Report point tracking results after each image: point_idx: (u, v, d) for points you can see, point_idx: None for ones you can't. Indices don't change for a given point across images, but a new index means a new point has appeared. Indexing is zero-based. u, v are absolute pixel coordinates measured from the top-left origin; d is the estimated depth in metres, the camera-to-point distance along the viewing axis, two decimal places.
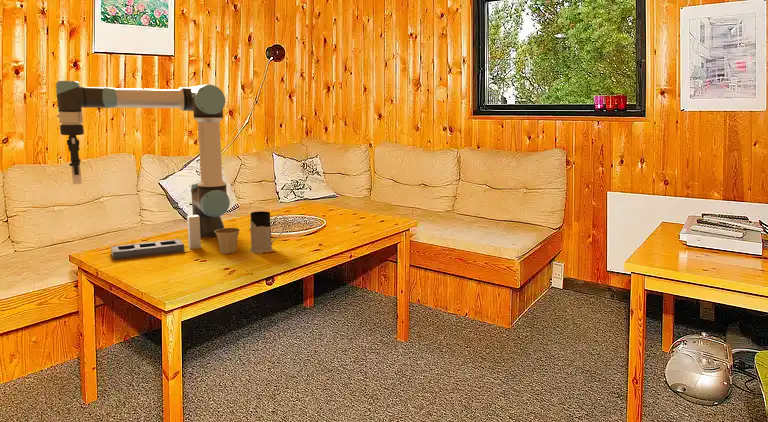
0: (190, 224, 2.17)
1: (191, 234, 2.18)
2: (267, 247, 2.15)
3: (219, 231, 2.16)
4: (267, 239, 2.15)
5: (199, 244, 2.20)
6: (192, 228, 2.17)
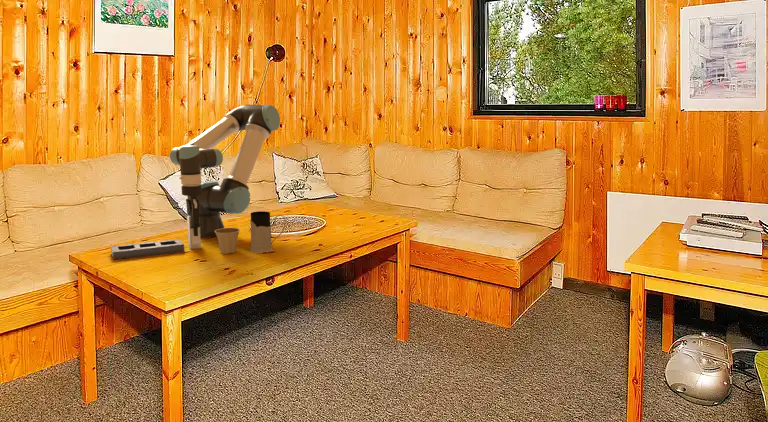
0: (190, 224, 2.17)
1: (191, 234, 2.18)
2: (267, 247, 2.15)
3: (219, 231, 2.16)
4: (267, 239, 2.15)
5: (199, 244, 2.20)
6: None
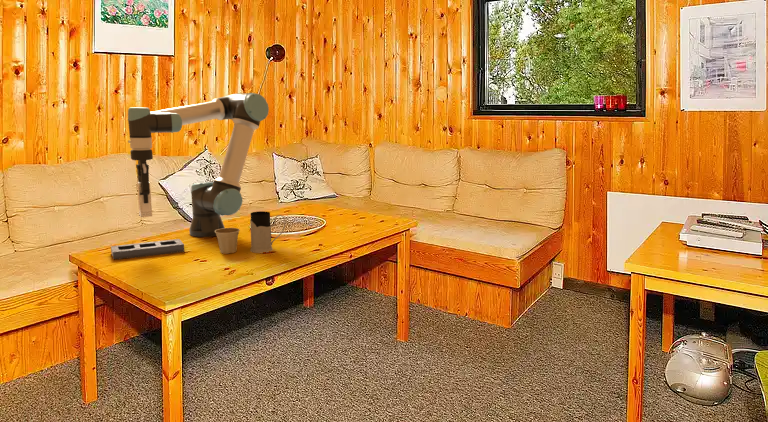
0: (140, 190, 2.05)
1: (141, 201, 2.06)
2: (267, 247, 2.15)
3: (219, 231, 2.16)
4: (267, 239, 2.15)
5: (150, 212, 2.08)
6: None
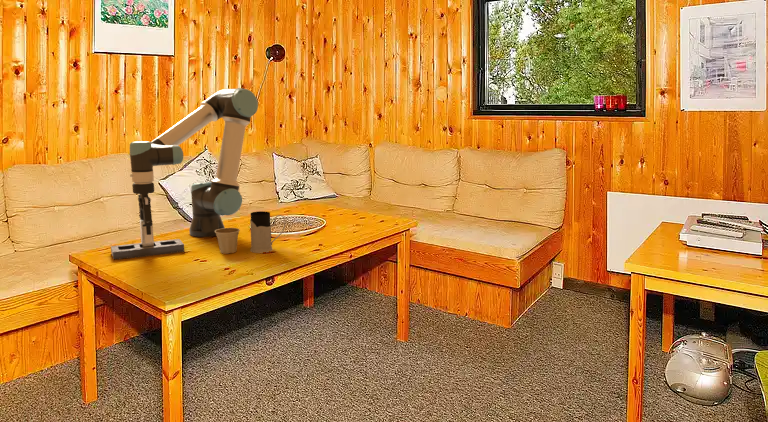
0: (142, 229, 2.08)
1: (143, 239, 2.09)
2: (267, 247, 2.15)
3: (219, 231, 2.16)
4: (267, 239, 2.15)
5: None
6: None
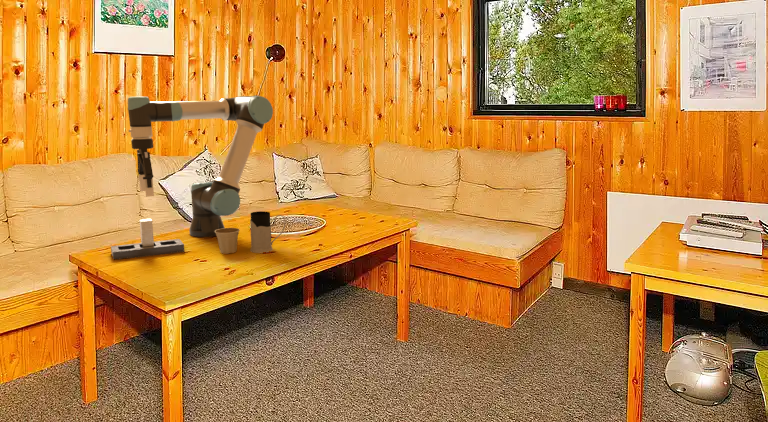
0: (142, 228, 2.08)
1: (143, 239, 2.09)
2: (267, 247, 2.15)
3: (219, 231, 2.16)
4: (267, 239, 2.15)
5: None
6: (145, 233, 2.09)
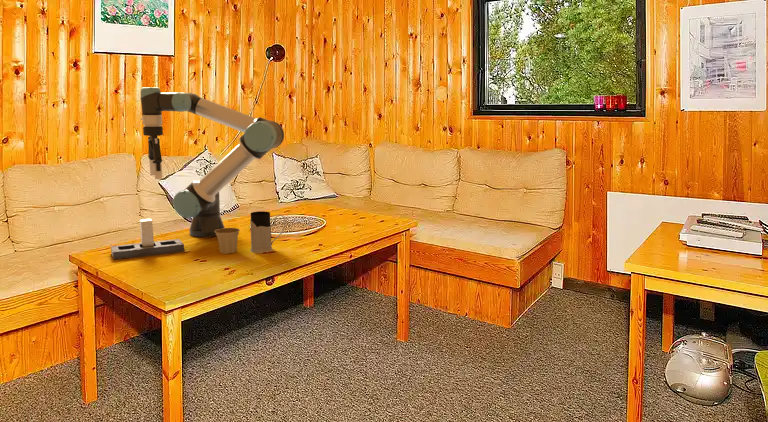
0: (142, 229, 2.08)
1: (143, 239, 2.09)
2: (267, 247, 2.15)
3: (219, 231, 2.16)
4: (267, 239, 2.15)
5: None
6: (145, 233, 2.09)
